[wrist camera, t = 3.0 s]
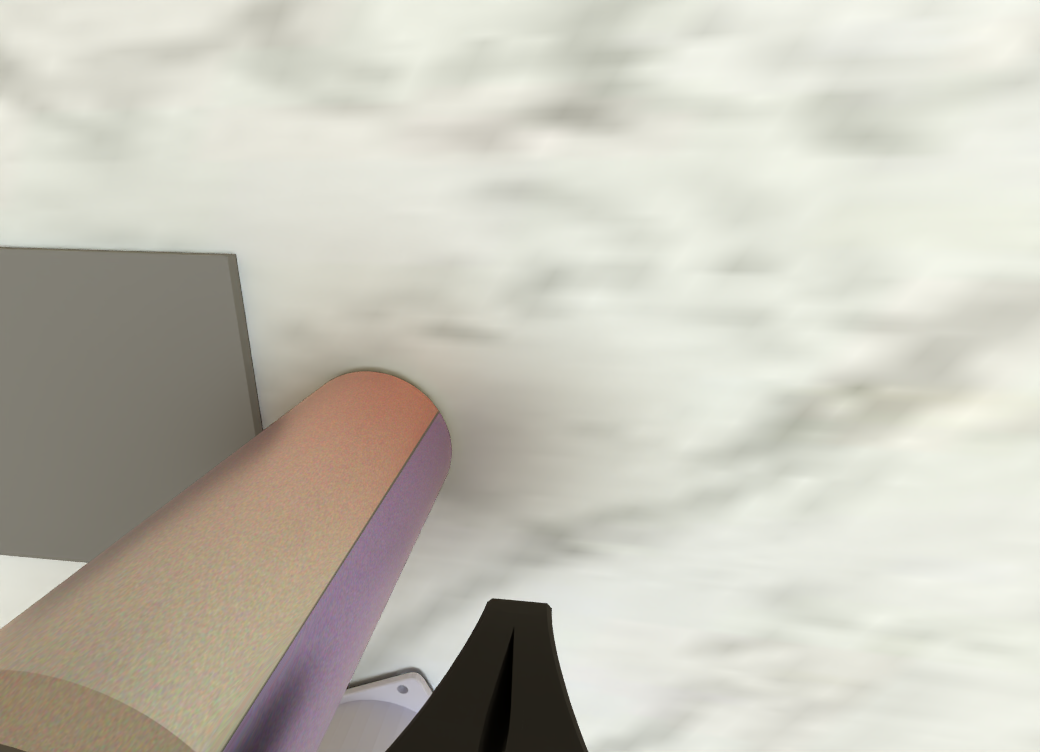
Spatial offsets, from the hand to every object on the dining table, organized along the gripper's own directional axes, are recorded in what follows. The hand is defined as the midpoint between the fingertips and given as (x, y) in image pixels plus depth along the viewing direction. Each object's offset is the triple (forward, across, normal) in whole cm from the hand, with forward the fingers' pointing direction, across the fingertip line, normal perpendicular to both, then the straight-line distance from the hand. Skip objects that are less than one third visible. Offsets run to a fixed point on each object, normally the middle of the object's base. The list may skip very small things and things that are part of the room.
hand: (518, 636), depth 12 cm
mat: (+9, +20, 0) cm, 23 cm away
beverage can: (+10, +6, 0) cm, 12 cm away
